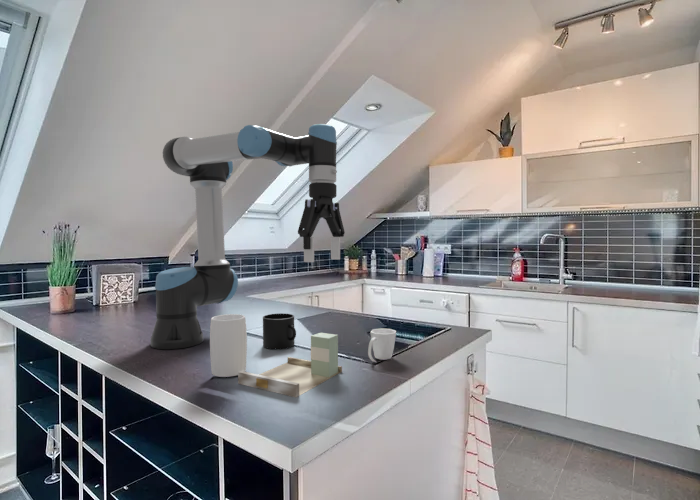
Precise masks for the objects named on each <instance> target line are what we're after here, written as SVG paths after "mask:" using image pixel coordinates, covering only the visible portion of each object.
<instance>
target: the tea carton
mask: <svg viewBox="0 0 700 500" xmlns="http://www.w3.org/2000/svg"><path fill="white" fill-rule="evenodd" d="M338 337H339V334H336V333H335V334H334V333H326V332H318V333H315V334H313V335H310V361H311V374H315V375H320V376H325V377H330V376H332V375H334V374H336V373H338V366H339V338H338Z"/></svg>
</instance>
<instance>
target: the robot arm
mask: <svg viewBox="0 0 700 500" xmlns="http://www.w3.org/2000/svg"><path fill="white" fill-rule="evenodd" d="M307 133H308V135H304V136H298V137H293V136H291V135H287V134H284V133H281V132H277V131H274V130H271V129H268V128H265V127H262V126H261V125H253V124H247V125H245V126H243V128H241V129H240V131H237V132H231V133H222V134H217V135H209V136H204V137H198V138H192V137H190V136H180V137H175V138H172V139H170V140H169V141H167V142H166V143H165V144H164V146H163V150H162V158H163V162H164V164H165V166H166V167H167V168H168V169H169V170H170V171H172V172H173V173H175V174H177V175H180V176H185V177H189V183H190V186H192V187H193V189H195V190H194V191H195V193H194V194H195V210H196V211H195V212H196V235H197V237H196V239H197V255H198V260H197V261H196V262H195V263H194V264H193V266H182V267H175V268H169V269H165V270H162V271H160V272H159V273H157V274H156V276H155V285H154V289H155V305H156V307H155V308H156V309H155V311H156V315H155V316H156V321H155V323H154V327H153V330H152V334H151V337H150V347H151V348H152V349H157V350H177V349H184V348H189V347H190V348H191V347H193V346H194V347H195V346H197V345H200V344H202V343H203V341H204V334H203V331H202V328H201V325H200V323H199V320H198V316H197V315H198V312H197V311H198V307H202V306H209V305H214V304H222V303H224V302H227V301H231V299H232V298H233V297H234V296H235V295H236V293H237V290H238V286H239V279H238V274H236V271H235V270H234V269H233V268H231V263H230V262H229V261H228V260H227V259H226V254H225V253H226V251H225V233H224V232H225V231H224V208H223V207H224V206H223V188H224V187H226V185H227V180H229V179H230V178H231V176H232V173H233V170H234V166H233V165H234V163H233V162H238V161H239V162H240V161H247V160H257V159H258V160H259V159H261V160H262V159H265V160H268V161H269V160H270V161H273V162H275V163H277V165H279V166H280V167H295V166H298V165H300V166H301V165H307V164H308V182H309V185H308V196H309V198H307V199H305V201H304V209H303V210H302V211H303V212H302V216H301V218H300V221H299V227H298V229H297V234H298V235H299V237H300V238H302V239H303V241H302V242H303V263H315V236H313V235H314V232H315V230H316V227H317V226H318V224H319V222H320V219H322V218H323V219H324V220H325V221H326V224H327V226H328V228H329V231H330V233H331V235H332V236H331V237H330V260H339V261H340V260H341V238H343V237H344V236H345V228H344V225H343V220H342V215H341V211H340V204H339V201H335V202H333V201H334V200H333V199H335V198H336V197H337V185H336V182H337V173H338V170H337V148H338V147H337V145H338V141H337V131H336V128H335V126H333V125H330V124H325V123H317V124H312V125H310V126H309V128H308V132H307Z"/></svg>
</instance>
